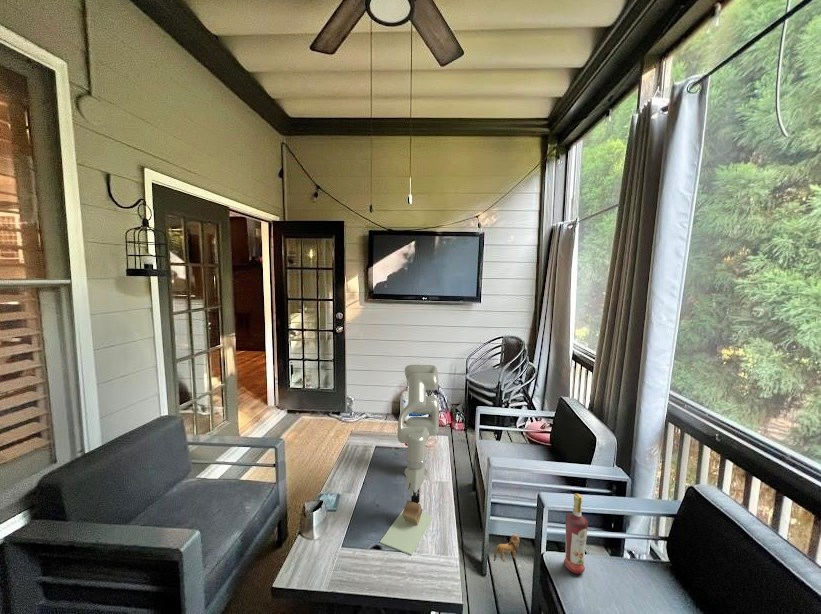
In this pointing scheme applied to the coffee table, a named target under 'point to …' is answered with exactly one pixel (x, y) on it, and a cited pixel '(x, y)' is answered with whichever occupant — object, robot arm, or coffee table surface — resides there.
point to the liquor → (575, 537)
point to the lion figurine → (508, 547)
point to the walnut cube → (412, 512)
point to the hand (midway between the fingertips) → (415, 502)
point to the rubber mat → (406, 533)
